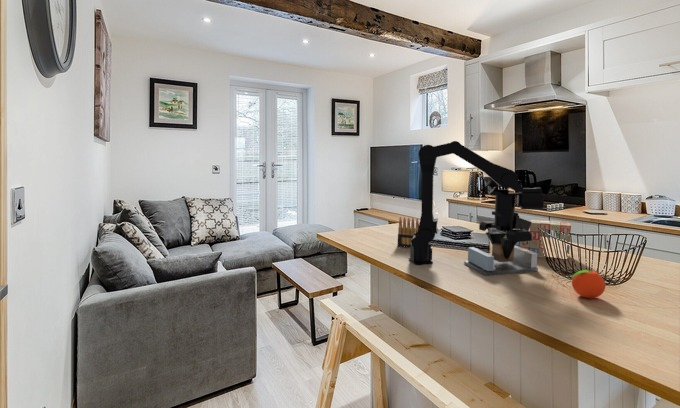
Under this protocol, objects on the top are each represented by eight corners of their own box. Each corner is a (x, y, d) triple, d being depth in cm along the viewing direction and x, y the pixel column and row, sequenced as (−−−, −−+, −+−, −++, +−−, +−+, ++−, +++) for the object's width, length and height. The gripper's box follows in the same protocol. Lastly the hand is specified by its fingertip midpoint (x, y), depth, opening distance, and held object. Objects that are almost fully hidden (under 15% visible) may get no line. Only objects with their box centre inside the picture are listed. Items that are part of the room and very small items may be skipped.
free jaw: (487, 271, 106) (487, 256, 105) (467, 260, 116) (468, 247, 116) (493, 270, 106) (493, 256, 105) (473, 260, 117) (473, 247, 116)
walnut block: (499, 262, 110) (500, 246, 109) (491, 258, 114) (492, 243, 113) (513, 261, 111) (514, 245, 110) (505, 257, 115) (506, 242, 114)
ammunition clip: (397, 246, 142) (397, 217, 140) (399, 245, 143) (399, 216, 142) (422, 249, 136) (423, 219, 134) (424, 248, 138) (424, 218, 136)
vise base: (485, 275, 105) (485, 258, 104) (464, 263, 117) (464, 247, 116) (537, 271, 108) (538, 253, 108) (512, 260, 120) (512, 244, 119)
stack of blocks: (500, 252, 130) (501, 220, 128) (502, 248, 135) (503, 217, 133) (569, 260, 119) (571, 225, 117) (568, 255, 124) (570, 221, 122)
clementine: (578, 303, 85) (580, 275, 84) (560, 292, 92) (562, 266, 91) (611, 302, 85) (613, 274, 84) (590, 291, 92) (593, 265, 91)
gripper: (549, 212, 102) (546, 263, 105) (508, 204, 121) (506, 247, 123) (515, 214, 101) (513, 266, 103) (479, 205, 119) (477, 249, 121)
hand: (502, 256), depth 112 cm, fingers closed on walnut block, 4 cm apart
